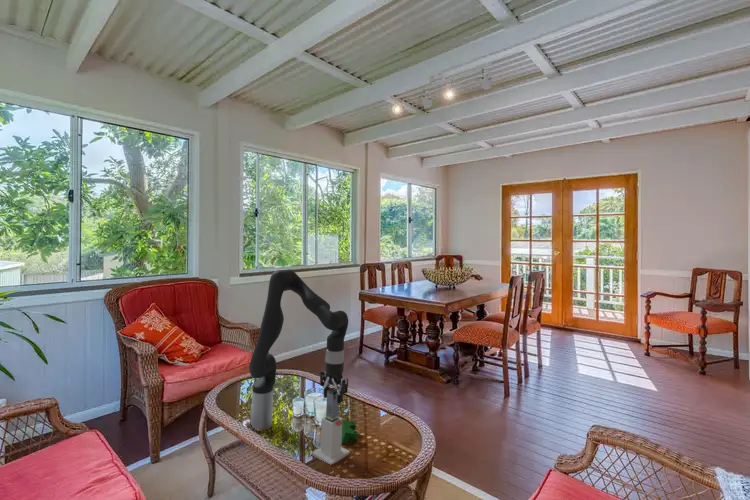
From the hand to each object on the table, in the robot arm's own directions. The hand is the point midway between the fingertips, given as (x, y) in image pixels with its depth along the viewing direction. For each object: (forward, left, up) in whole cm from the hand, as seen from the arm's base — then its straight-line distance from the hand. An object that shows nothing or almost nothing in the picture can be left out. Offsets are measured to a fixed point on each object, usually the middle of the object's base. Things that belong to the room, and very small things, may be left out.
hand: (332, 399), depth 150 cm
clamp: (-3, +14, -23) cm, 27 cm away
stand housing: (0, 0, -23) cm, 23 cm away
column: (0, 0, -16) cm, 16 cm away
